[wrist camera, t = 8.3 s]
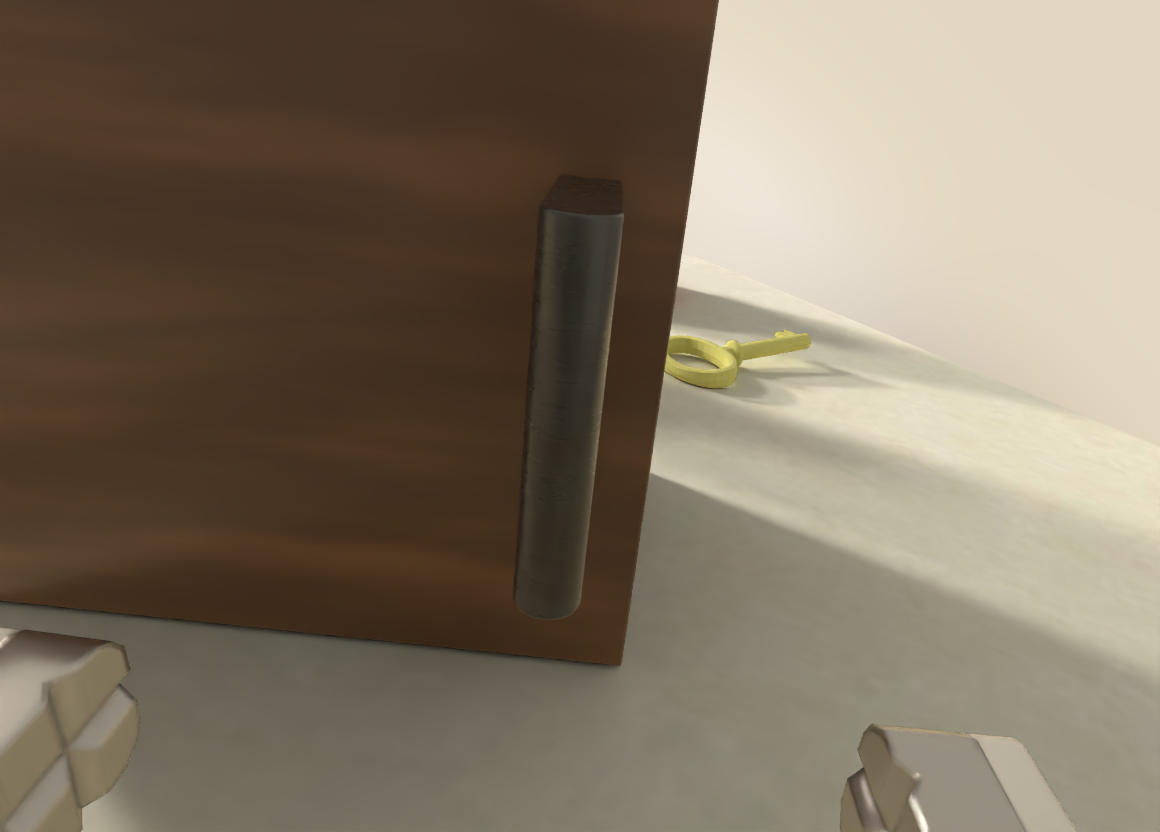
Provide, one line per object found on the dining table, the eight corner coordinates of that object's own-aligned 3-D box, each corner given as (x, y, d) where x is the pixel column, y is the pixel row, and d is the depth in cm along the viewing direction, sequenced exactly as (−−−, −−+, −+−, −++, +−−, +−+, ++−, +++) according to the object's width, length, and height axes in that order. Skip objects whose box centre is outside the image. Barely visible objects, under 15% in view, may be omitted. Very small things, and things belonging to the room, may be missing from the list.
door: (621, 825, 19) (796, -227, 10) (-214, 736, 19) (-736, -376, 11) (621, 645, 26) (730, -111, 17) (-13, 579, 26) (-237, -205, 17)
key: (811, 361, 56) (818, 334, 55) (709, 394, 48) (714, 363, 47) (735, 334, 61) (739, 309, 60) (630, 360, 53) (633, 332, 52)
